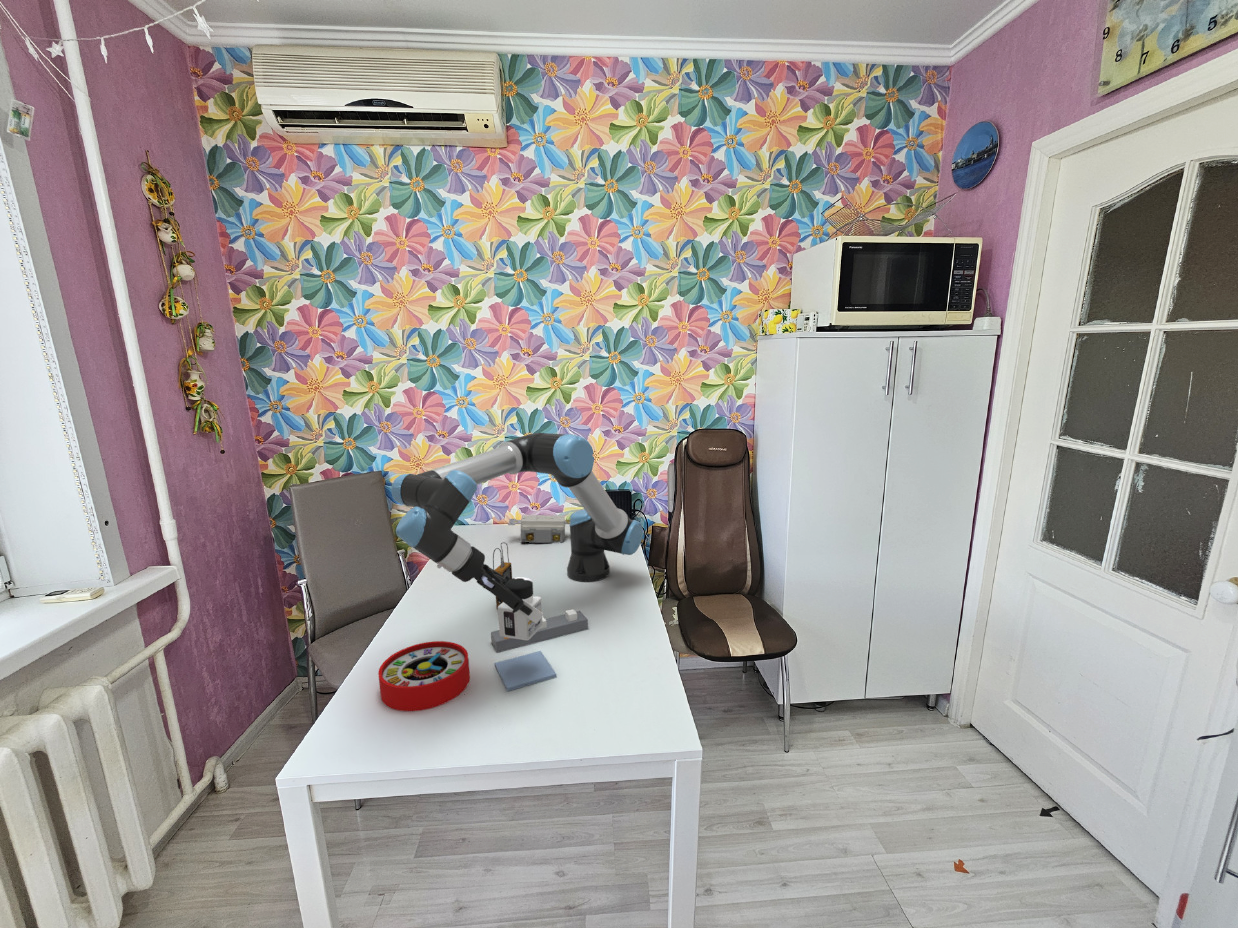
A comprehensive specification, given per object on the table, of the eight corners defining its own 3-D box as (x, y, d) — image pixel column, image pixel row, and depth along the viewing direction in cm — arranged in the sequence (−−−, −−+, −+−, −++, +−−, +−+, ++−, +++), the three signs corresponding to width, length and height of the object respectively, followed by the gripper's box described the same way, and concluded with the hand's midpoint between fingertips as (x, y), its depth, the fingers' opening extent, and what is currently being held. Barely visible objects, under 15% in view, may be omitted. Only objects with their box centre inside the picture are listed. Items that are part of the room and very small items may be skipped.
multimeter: (522, 618, 160) (518, 554, 156) (491, 616, 162) (486, 552, 158) (539, 597, 174) (536, 538, 170) (510, 595, 176) (506, 536, 172)
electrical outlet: (509, 536, 233) (509, 514, 231) (575, 536, 237) (576, 514, 235) (507, 545, 222) (507, 521, 220) (577, 545, 226) (577, 522, 224)
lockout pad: (540, 653, 141) (540, 650, 140) (556, 676, 130) (556, 673, 130) (494, 665, 135) (494, 662, 135) (507, 691, 125) (507, 688, 125)
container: (528, 641, 125) (525, 588, 123) (499, 636, 128) (495, 585, 126) (543, 625, 133) (540, 576, 130) (515, 621, 135) (512, 572, 133)
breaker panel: (580, 620, 158) (579, 604, 157) (588, 628, 153) (587, 612, 152) (491, 642, 147) (490, 625, 146) (496, 652, 141) (495, 634, 141)
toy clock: (358, 680, 121) (415, 636, 140) (361, 703, 122) (417, 657, 141) (434, 694, 115) (484, 646, 134) (437, 719, 116) (485, 668, 135)
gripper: (441, 556, 130) (509, 602, 140) (459, 591, 110) (537, 643, 120) (462, 531, 132) (528, 579, 141) (483, 562, 111) (558, 615, 121)
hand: (532, 608), depth 131 cm, fingers closed on container, 10 cm apart
